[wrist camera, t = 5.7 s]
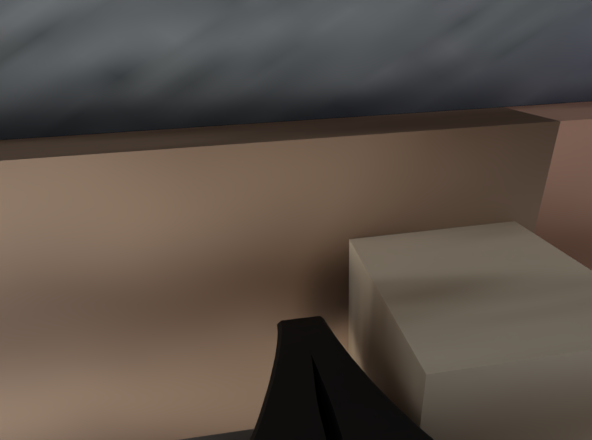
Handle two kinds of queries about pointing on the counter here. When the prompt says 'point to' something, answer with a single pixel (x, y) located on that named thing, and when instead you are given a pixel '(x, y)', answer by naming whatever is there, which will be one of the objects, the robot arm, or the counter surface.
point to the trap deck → (237, 250)
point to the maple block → (475, 331)
